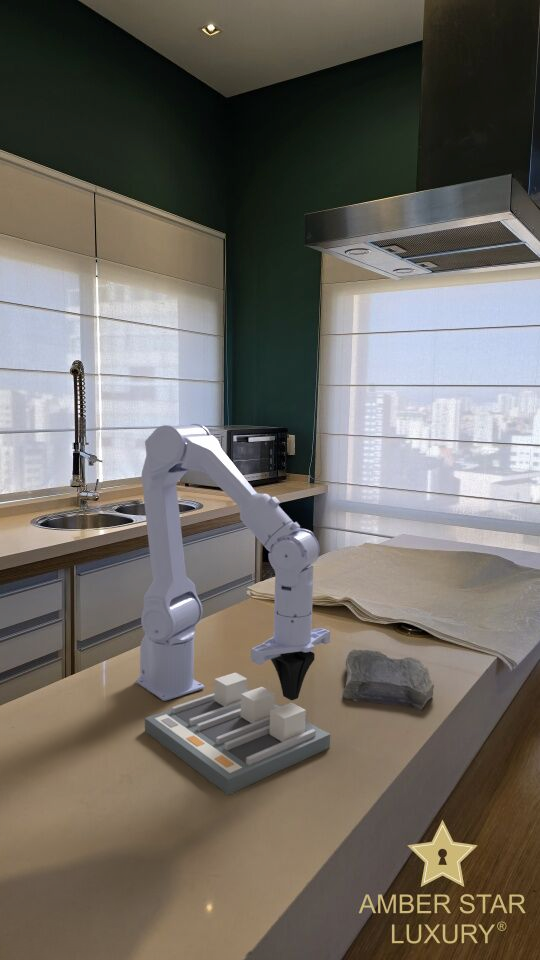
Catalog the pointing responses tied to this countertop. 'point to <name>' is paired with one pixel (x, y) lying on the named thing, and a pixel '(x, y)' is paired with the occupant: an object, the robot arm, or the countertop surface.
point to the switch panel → (230, 742)
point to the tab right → (287, 721)
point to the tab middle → (257, 704)
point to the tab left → (229, 689)
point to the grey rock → (387, 679)
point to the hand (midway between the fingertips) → (290, 697)
